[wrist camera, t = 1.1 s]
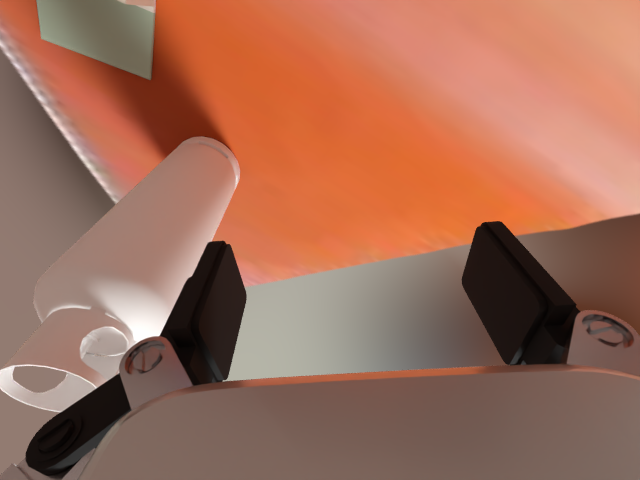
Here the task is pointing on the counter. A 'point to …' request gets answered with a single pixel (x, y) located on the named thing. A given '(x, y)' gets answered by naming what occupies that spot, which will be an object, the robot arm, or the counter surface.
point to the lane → (103, 30)
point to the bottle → (125, 273)
